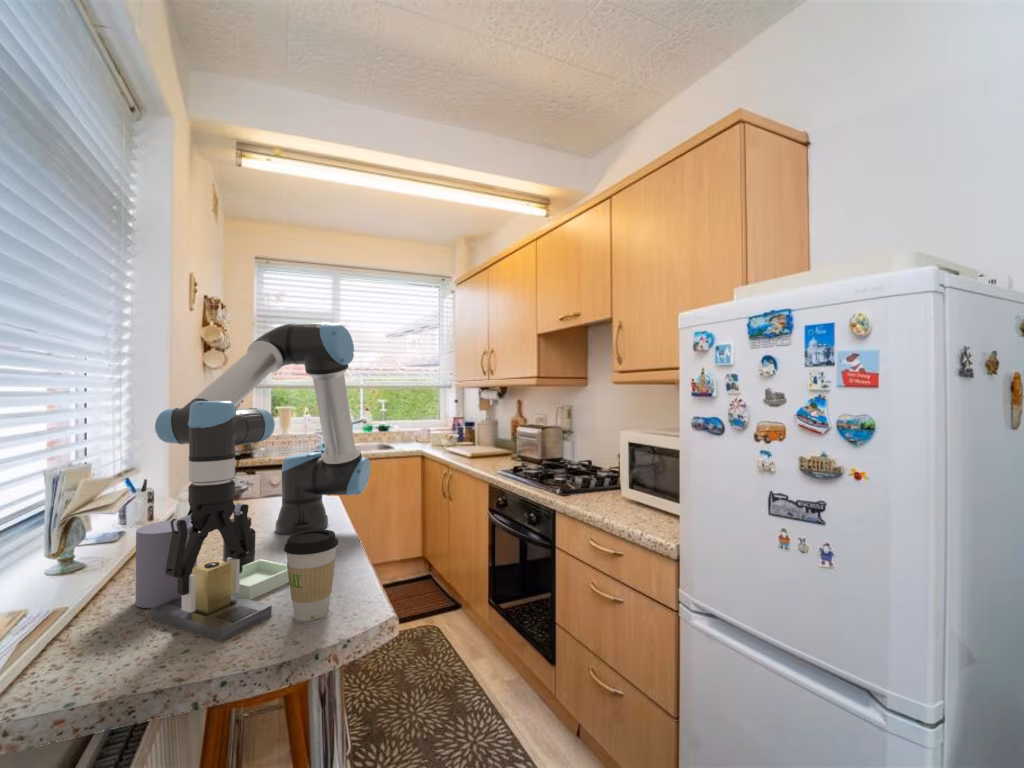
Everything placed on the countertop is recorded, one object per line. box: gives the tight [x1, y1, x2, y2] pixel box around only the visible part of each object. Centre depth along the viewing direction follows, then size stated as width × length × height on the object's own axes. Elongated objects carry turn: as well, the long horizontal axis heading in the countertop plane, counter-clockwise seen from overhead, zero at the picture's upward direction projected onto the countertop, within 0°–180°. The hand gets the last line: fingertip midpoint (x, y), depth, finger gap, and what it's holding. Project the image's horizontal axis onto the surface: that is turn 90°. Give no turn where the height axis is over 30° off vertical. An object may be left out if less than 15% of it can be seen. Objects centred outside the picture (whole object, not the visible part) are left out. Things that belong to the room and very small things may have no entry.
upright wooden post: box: [192, 559, 231, 616], centre depth 90 cm, size 4×4×10 cm
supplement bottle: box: [222, 516, 257, 565], centre depth 114 cm, size 7×7×12 cm
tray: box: [231, 558, 289, 600], centre depth 105 cm, size 12×12×3 cm
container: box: [135, 519, 198, 610], centre depth 98 cm, size 10×10×15 cm
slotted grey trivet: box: [150, 595, 273, 642], centre depth 90 cm, size 10×20×2 cm, turn 67°
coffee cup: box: [283, 529, 339, 622], centre depth 91 cm, size 10×10×15 cm
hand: (211, 600), depth 90 cm, fingers open, 8 cm apart
